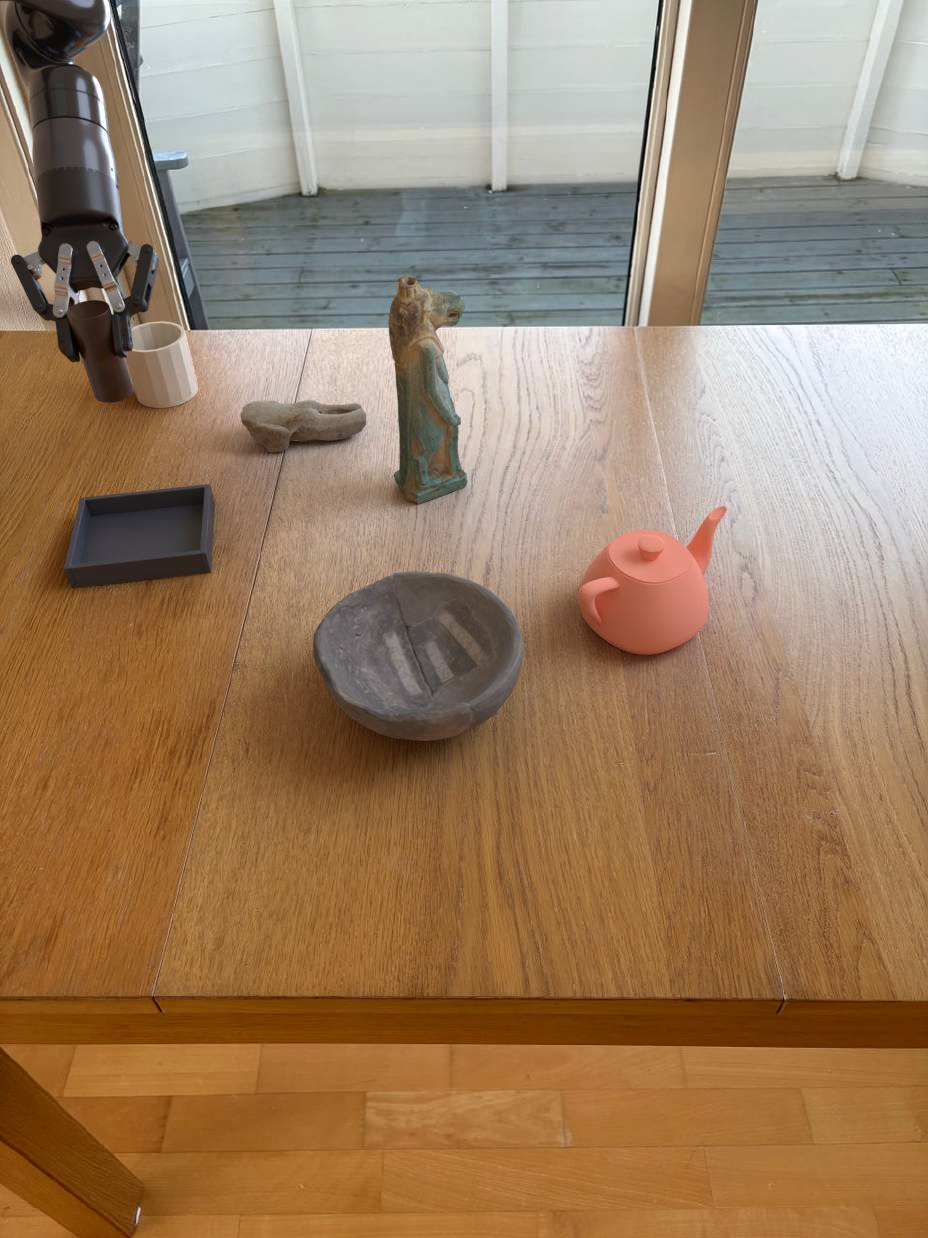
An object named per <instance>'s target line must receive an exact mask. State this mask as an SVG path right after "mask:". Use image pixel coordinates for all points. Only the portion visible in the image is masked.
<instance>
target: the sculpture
mask: <svg viewBox="0 0 928 1238" xmlns="http://www.w3.org/2000/svg"><path fill="white" fill-rule="evenodd" d="M240 419H241V420H240V421H241V423H242V425H243V426H244V427H245V428H246V430H247V431H248V433H249V435H250V437H251V438H252V439H253V440H254V441H256V442H257V443H259V444H260V445H262V446H264V447H265V448H266V450H267V451H268V452H271V453H280V452H281V453H282V452H286V451H287V450H288V449H289V447H290V442H307V441H311V440H317V441H337V440H338V441H339V440H345V439H349V438H352V437H354V436H356V435H358V434H359V433H361V432H363V430H364V428H365V427H366V425H367V413H366V411H365V410H364V408H363V407H362V405H361V404H360V403H357V402H352V403H346V404H345V403H344V404H328V403H321V402H318V401H317V400H314V399H307V400H301V401H297V402H293V403H281V402H279V401H278V400H277V401H276V400H254V401H251V402H249V403H247V404H245V405H244V406H243V407H242V411H241V412H240Z"/></svg>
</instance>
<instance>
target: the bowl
mask: <svg viewBox="0 0 928 1238" xmlns="http://www.w3.org/2000/svg"><path fill="white" fill-rule="evenodd" d="M312 639H313V641H312V645H313V646H312V651H313V652H312V653H313V655H312V656H313V659H314V664H315V666H316V668H317V672H318V674H319V676H320V678H321V680H322V682H323V685H324V686H325V689H326V691H327V692H328V694H329V695H330V697H331V699H332V700H333V702H334V703H335V704H336V705H337V706H338V707H339V708H340V709H341V710H342V711H343V712H344V713H345V714H346V715H347V716H348V717H350V718H351V720H354V721H356V722H357V723H359V724H360V725H362V726H363V727H365V728H367V729H369V730H371V731H373V732H375V733H377V734H379V735H381V736H384V737H387V738H390V739H391V738H392V739H396V740H406V741H407V740H408V741H421V742H422V741H423V742H425V741H427V742H429V741H430V742H432V741H441V740H445V739H449V738H453V737H456V736H458V735H461V734H463V733H464V734H465V733H467V732H470V731H471V730H473V729H475V728H477V727H479V726H480V725H482V724H484V723H486V722H487V721H489V720H490V719H491V718H492V717H493V716H494V715H495V714H496V713H497V712H498V711H499V710H500V709H501V708H502V707H503V705H504V704H505V703H506V701H507V700H508V698H509V697H510V696H511V694H512V693H513V690H514V688H515V686H516V685H517V682H518V681H519V676H520V673H521V669H522V666H523V659H524V658H523V657H524V639H523V633H522V629H521V625H520V622H519V621H518V618H517V617H516V616H515V614H514V613H513V611H512V610H511V608H510V607H509V606H508V604H506V602H505V601H503V600H502V599H501V598H500V597H498V596H497V595H496V594H495V593H494V592H492V591H491V590H490V589H488V588H486V587H485V586H483V585H481V584H480V583H477V582H475V581H472V580H469V579H468V578H465V577H462V576H458V575H455V574H452V573H447V572H442V571H441V572H440V571H439V572H438V571H435V572H430V571H401V572H393V573H392V574H391V575H388V576H384V577H383V578H381V579H378V580H376V581H375V582H373V583H371V584H368V585H365V586H363V587H361V588H359V589H356V590H355V591H353V592H351V593H349V594H347V595H346V596H344V597H343V598H342V599H341V600H339V601H338V602H337V603H336V604H334V606H332V607H331V608H330V609H328V611H327V613H326V614H325V615H324V617H323V618H322V620H321V621H320V622H319V624H318V625H317V627H316V629H315V631H314V633H313V638H312Z"/></svg>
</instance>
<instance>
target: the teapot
mask: <svg viewBox="0 0 928 1238" xmlns="http://www.w3.org/2000/svg"><path fill="white" fill-rule="evenodd" d="M727 511H728V507H727V506H724V505H722V506H718V507H716V508H715V509H713V510H711V511H710V512H709V513H708V515H706V516H705V518H704V520H703V521H702V522H701V524H700V526H699V527H698V528H697V531H696V532H695V534H694V536H693V537H692V539H691V540H690V542H689V543H688V544H687V545H684V543H683V542H682V541H680V540H678V539H677V538H675V537H674V536H673V535H670V534H668V533H666V532H663V531H660V530H656V529H649V528H648V529H647V528H640V529H635V530H631V531H628V532H625V533H624V534H621V535H619V536H617V537H616V538H614V539H613V540H612V541H611V542H609V543H608V544H607V545H606V546H604V548H603V549H602V550H601V551H600V552H599V553H598V554H597V555H596V556H595V557H594V559H593V560H592V561H591V562H590V564H589V565H588V567H587V569H586V570H585V572H584V574H583V577H582V579H581V582H580V585H579V589H578V592H577V602H578V608H579V610H580V613H581V615H582V617H583V619H584V620H585V622H586V623H587V625H588V626H589V627H590V628H591V629H592V630H593V632H594V633H596V634H597V635H598V636H599V637H600V638H602V639H603V640H604V641H605V642H606V643H608V644H610V645H612V646H614V647H615V648H617V649H619V650H622V651H625V652H627V653H630V654H635V655H643V656H645V655H646V656H648V655H649V656H651V655H657V654H662V653H665V652H668V651H671V650H673V649H675V648H677V647H680V646H681V645H683V644H685V643H687V642H688V641H689V640H692V638H694V637H695V636H696V635H697V634H698V633H699V632H700V631H701V630H702V628H703V627H704V625H705V624H706V622H707V619H708V615H709V606H710V604H709V602H710V600H709V592H708V591H709V590H708V587H707V583H706V580H705V577H704V575H705V574H706V572H707V570H708V568H709V567H710V563H711V559H712V553H713V545H714V538H715V533H716V530H717V527H718V525H719V524H720V522H721V520H722V519H724V516H725V515H726V513H727Z"/></svg>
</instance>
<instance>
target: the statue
mask: <svg viewBox="0 0 928 1238" xmlns="http://www.w3.org/2000/svg"><path fill="white" fill-rule="evenodd" d="M397 281H398V288H397V293H396V294H395V296H394V297H393V298H392V301H391V303H390V307H389V313H388V314H389V315H388V337H389V346H390V351H391V356H392V359H393V361H394V372H395V387H396V397H397V398H396V399H397V422H398V434H399V435H398V438H399V461H398V463H399V464H398V465H399V467H398V469H397V470H396V471H395V472H394V474H393V478H394V481H395V483H396V484H397V486H398V488H399V490H400V492H401V493H402V494H403V496H404V498H405V499H406V500H407V501H408V502H411V503H415V504H417V505H419V504H423V503H425V502H428V501H430V500H434V499H436V498H439V497H442V496H444V495H446V494H447V495H448V494H449V493H452V492H455V491H458V490H460V489H461V490H462V489H463V488H465V487H467V484H468V477H467V472H465V470H464V469H463V467H462V464H461V461H460V455H459V433H460V430H459V427H460V425H461V424H462V418H461V416H459V415H458V414H457V412H456V408H455V404H454V401H453V399H452V396H451V392H450V388H449V379H450V375H449V372H448V368H447V364H446V360H445V359H444V358H445V357H444V353H445V347H444V345H443V344H442V342H441V340H440V338H439V336H438V334H437V331H438V329H440V328H442V327H454V326H457V325H458V323H459V322H461V317H462V316H463V312H464V311H465V309H466V304H465V301H464V299H463V297H462V296H461V295H459V294H458V293H457V292H455V291H454V290H452V289H447V290H444V291H439V292H438V293H436V292H435V291H434V288H433V287H431V286H427V287H425V288H421V286H420V284H419V281H418V277H416V276H415V275H403V276H400V277H399V278H397Z"/></svg>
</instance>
